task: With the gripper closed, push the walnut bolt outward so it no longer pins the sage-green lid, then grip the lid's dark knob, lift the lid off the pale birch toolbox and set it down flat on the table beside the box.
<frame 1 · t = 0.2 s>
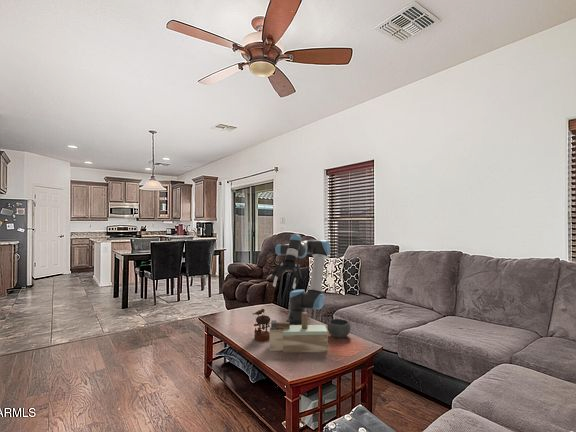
hand: (283, 287, 199), 35 cm above the table, tool tilted 30°, fingers open, 13 cm apart
toolbox: (304, 348, 192), on the table
bowl: (339, 337, 211), on the table
music box: (263, 338, 209), on the table
lid: (304, 331, 192), point 10 cm above the table, touching toolbox
bolt: (281, 325, 192), point 14 cm above the table, slide at 0.0 cm
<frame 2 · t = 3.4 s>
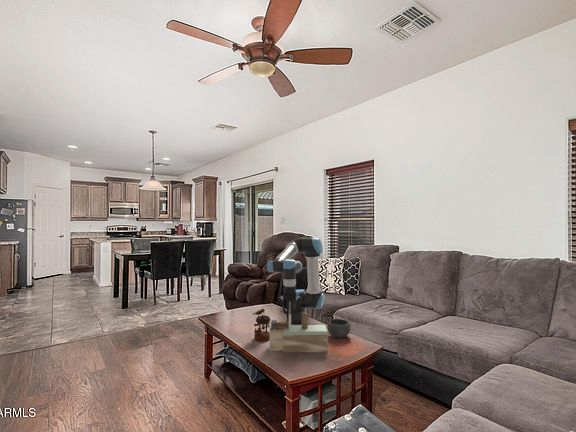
hand: (289, 325, 192), 14 cm above the table, tool pointing down, fingers closed
bolt: (280, 325, 192), point 14 cm above the table, slide at 0.6 cm, touching gripper
everything else where it was.
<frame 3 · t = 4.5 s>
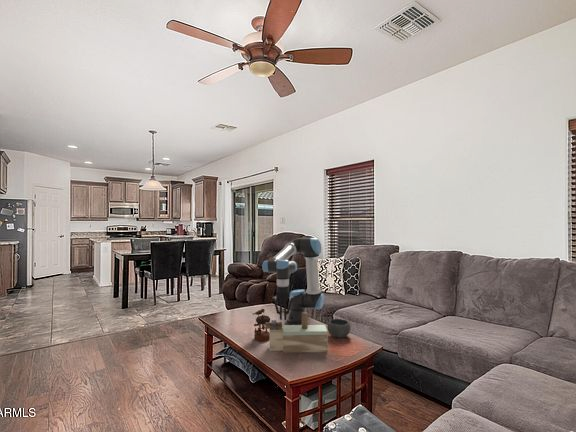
hand: (283, 325, 192), 14 cm above the table, tool pointing down, fingers closed
bolt: (273, 325, 192), point 14 cm above the table, slide at 4.7 cm, touching gripper
everything else where it was.
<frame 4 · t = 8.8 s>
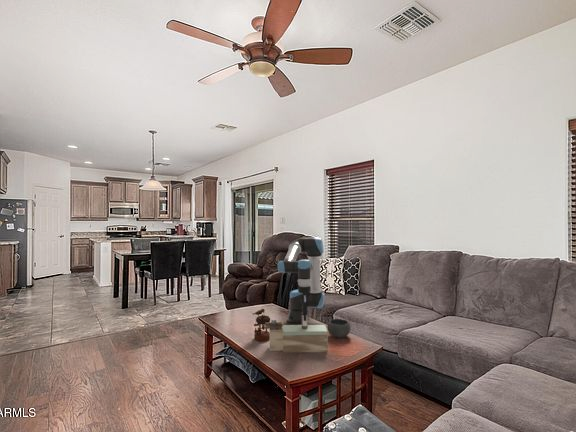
hand: (304, 324, 192), 14 cm above the table, tool pointing down, fingers closed on lid, 4 cm apart
lid: (304, 331, 192), point 10 cm above the table, touching gripper, toolbox
bolt: (273, 325, 192), point 14 cm above the table, slide at 4.7 cm
everything else where it was.
when the fingers open (6 cm above the table, at t = 16.9 s): lid drops 3 cm, on the table.
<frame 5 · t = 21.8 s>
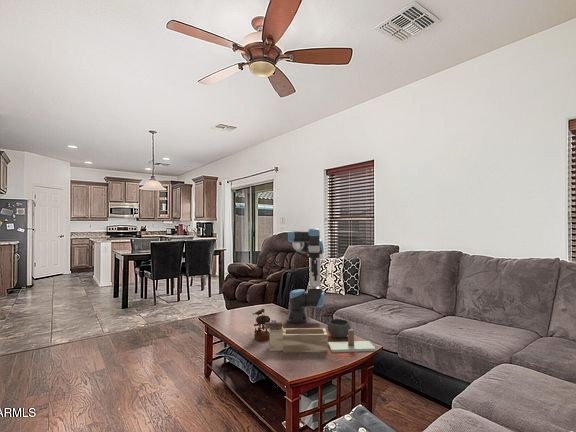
hand: (314, 283, 213), 35 cm above the table, tool pointing down, fingers open, 13 cm apart
lid: (351, 348, 192), on the table
everything else where it was.
at the end: bolt slide at 4.7 cm; lid inside the target area (0.1 cm from its centre), on the table; lid tilted 0° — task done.
